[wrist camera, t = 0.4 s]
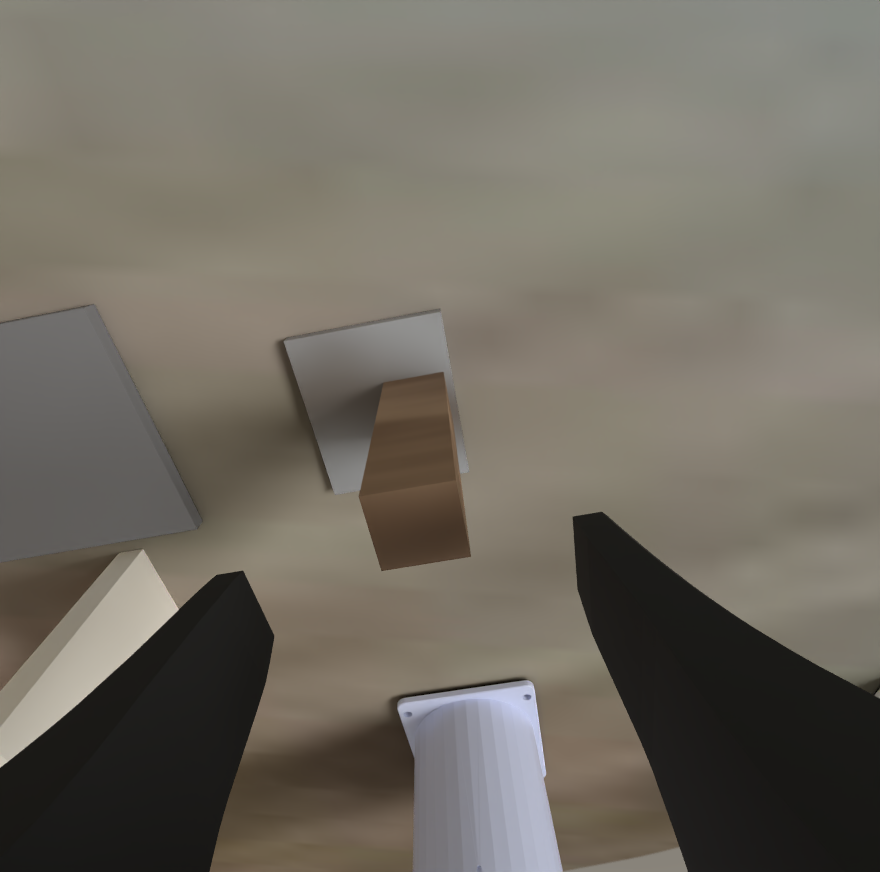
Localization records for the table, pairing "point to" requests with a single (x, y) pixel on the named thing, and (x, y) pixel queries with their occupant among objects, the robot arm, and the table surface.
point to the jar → (877, 694)
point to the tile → (84, 649)
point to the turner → (390, 431)
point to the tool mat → (78, 443)
